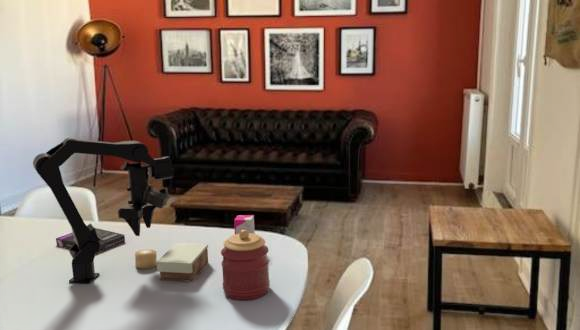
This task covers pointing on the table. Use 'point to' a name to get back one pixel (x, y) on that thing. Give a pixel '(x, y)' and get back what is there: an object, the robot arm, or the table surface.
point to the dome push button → (145, 259)
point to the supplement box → (244, 223)
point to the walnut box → (196, 267)
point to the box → (106, 237)
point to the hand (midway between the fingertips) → (143, 231)
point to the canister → (245, 266)
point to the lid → (180, 258)
